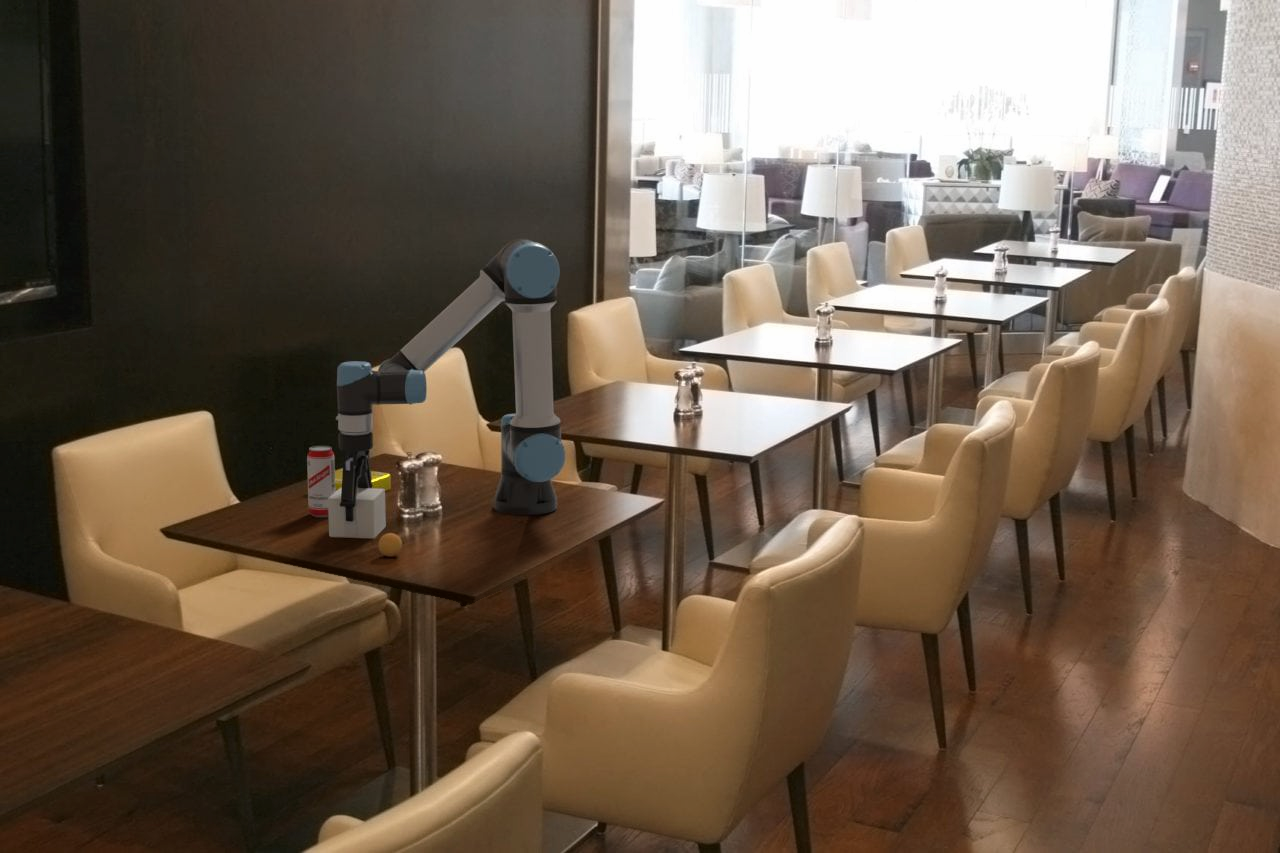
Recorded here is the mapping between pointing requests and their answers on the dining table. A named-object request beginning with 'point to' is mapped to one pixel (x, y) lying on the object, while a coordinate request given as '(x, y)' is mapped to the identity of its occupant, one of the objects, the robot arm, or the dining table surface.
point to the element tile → (378, 478)
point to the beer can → (320, 479)
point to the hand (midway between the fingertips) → (357, 528)
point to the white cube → (359, 513)
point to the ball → (390, 544)
